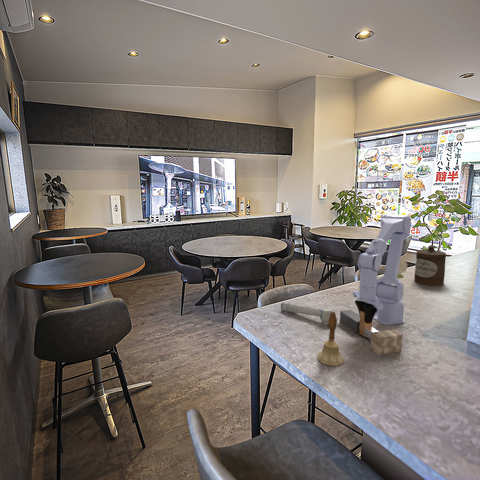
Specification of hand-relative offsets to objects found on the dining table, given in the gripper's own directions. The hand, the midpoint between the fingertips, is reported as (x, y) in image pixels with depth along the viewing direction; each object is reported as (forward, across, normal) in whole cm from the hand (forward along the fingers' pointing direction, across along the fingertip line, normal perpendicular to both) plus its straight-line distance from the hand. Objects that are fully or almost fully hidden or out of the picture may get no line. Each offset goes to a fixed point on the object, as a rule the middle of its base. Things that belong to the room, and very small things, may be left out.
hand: (365, 321), depth 111 cm
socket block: (+6, +11, 0) cm, 12 cm away
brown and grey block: (+6, -3, 0) cm, 6 cm away
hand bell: (+6, +11, -21) cm, 24 cm away
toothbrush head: (+6, -21, -13) cm, 26 cm away
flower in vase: (+6, -19, +26) cm, 33 cm away
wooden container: (+6, -48, +79) cm, 93 cm away
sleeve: (+6, -8, 0) cm, 10 cm away
